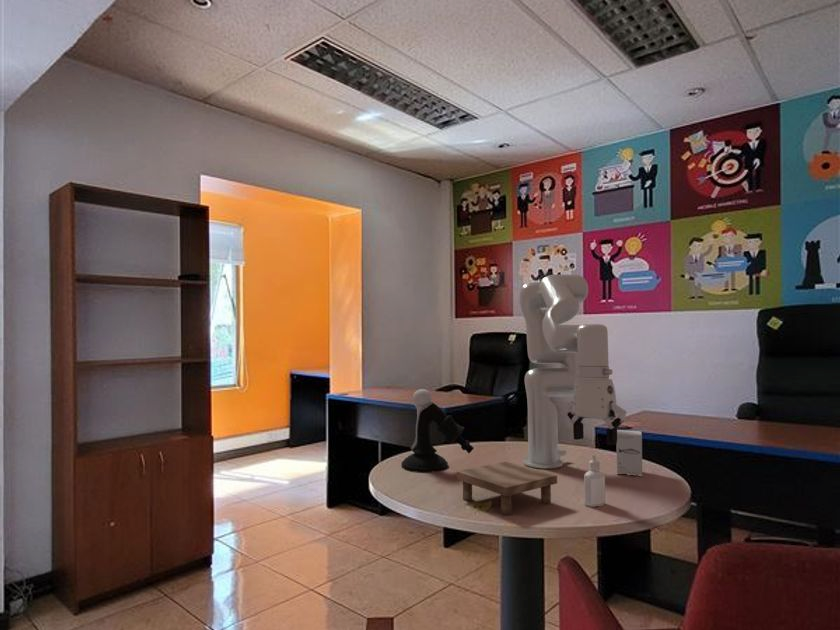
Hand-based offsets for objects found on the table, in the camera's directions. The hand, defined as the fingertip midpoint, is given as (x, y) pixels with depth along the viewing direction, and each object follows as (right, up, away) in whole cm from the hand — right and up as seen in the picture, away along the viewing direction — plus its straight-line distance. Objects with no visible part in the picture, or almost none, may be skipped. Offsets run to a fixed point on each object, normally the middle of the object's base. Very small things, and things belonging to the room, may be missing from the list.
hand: (594, 441), depth 129 cm
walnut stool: (-22, -16, +3) cm, 27 cm away
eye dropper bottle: (0, -16, 0) cm, 16 cm away
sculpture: (-38, -18, +38) cm, 57 cm away
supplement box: (+21, -17, +29) cm, 40 cm away
